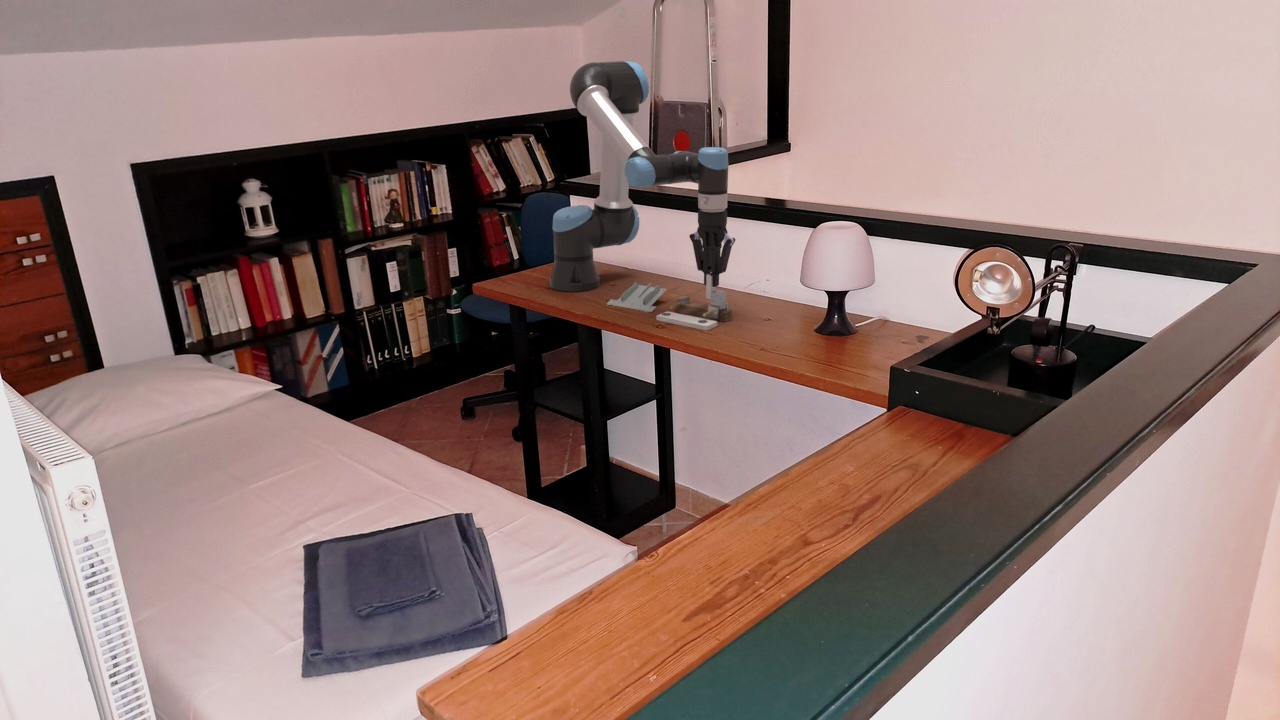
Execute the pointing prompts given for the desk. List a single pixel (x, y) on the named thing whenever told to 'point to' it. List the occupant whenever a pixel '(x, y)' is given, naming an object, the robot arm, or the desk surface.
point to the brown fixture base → (698, 309)
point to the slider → (716, 304)
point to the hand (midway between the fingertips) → (711, 297)
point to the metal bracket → (639, 297)
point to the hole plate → (686, 320)
